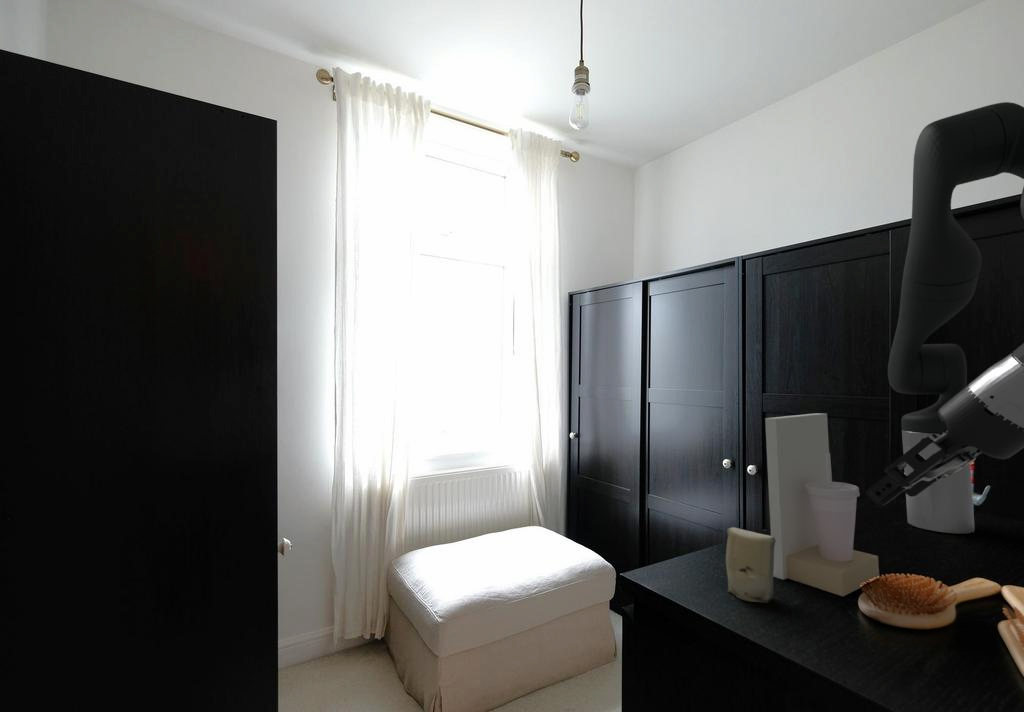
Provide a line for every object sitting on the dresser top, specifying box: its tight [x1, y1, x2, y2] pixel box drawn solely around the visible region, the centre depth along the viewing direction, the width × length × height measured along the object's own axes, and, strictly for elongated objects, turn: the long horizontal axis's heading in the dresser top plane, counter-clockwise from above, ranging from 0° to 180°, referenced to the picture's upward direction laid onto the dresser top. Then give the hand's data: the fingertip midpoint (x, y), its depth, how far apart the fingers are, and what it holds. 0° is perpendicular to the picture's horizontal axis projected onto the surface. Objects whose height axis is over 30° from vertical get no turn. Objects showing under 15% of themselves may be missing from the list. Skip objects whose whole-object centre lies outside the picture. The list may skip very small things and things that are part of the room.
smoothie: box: [805, 452, 861, 562], centre depth 68 cm, size 6×6×14 cm
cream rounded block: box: [725, 526, 776, 604], centre depth 63 cm, size 6×5×8 cm
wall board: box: [764, 412, 880, 597], centre depth 69 cm, size 14×8×22 cm, turn 122°
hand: (889, 495), depth 62 cm, fingers open, 8 cm apart
